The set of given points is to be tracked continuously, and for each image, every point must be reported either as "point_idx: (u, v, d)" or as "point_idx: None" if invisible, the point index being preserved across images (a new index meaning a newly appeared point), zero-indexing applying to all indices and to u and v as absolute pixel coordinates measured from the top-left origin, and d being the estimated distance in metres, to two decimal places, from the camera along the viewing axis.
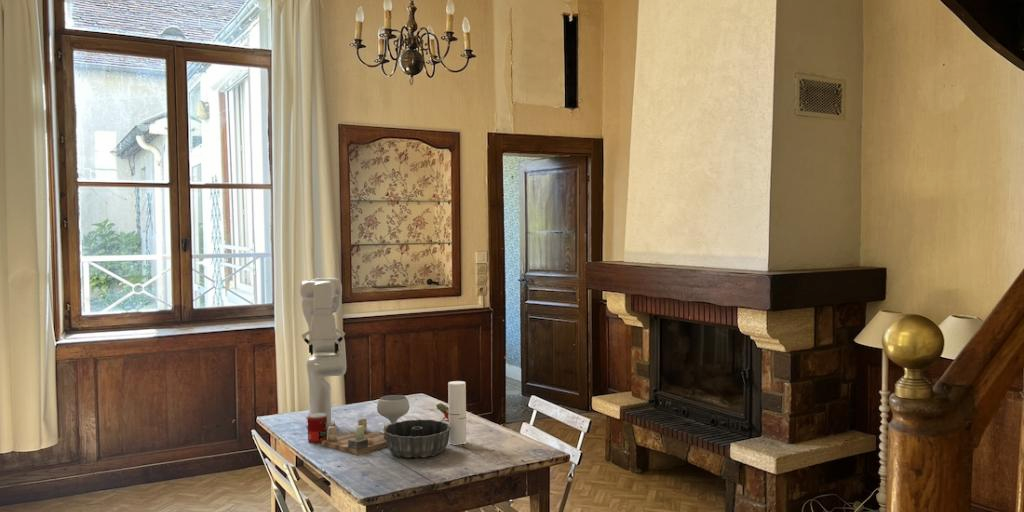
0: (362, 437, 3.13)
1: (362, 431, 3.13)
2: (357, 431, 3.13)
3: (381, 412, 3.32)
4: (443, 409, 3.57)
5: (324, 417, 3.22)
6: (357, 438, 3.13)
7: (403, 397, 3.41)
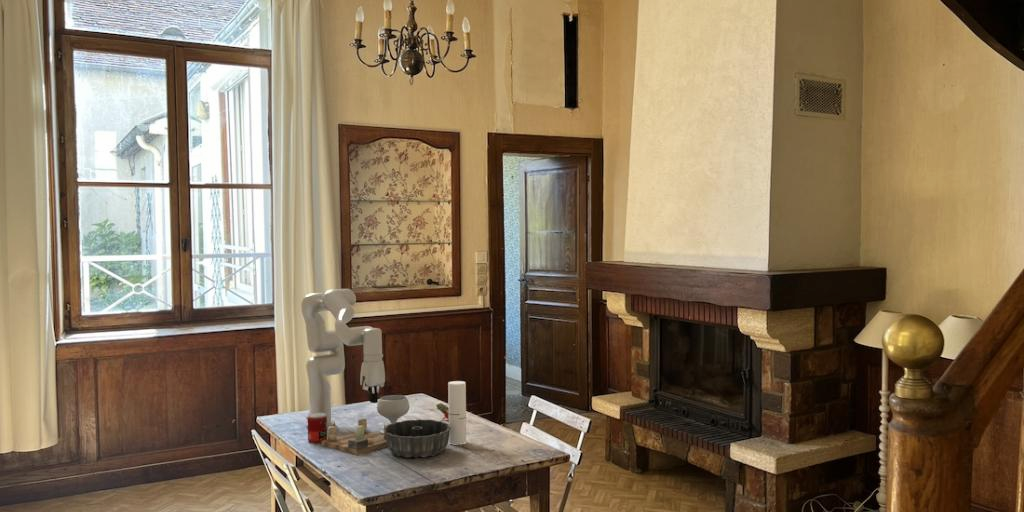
0: (362, 437, 3.13)
1: (362, 431, 3.13)
2: (357, 431, 3.13)
3: (381, 412, 3.32)
4: (443, 409, 3.57)
5: (324, 417, 3.22)
6: (357, 438, 3.13)
7: (403, 397, 3.41)
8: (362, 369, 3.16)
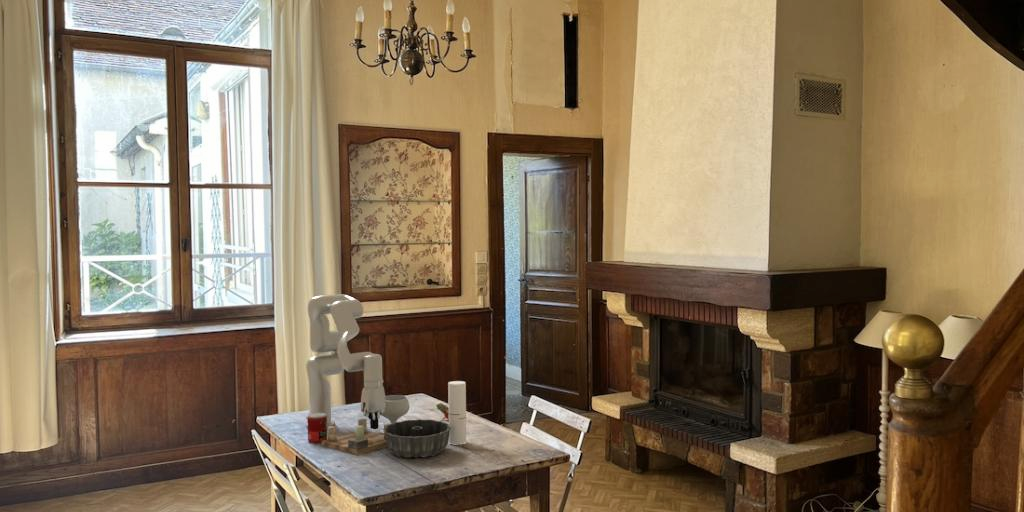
0: (362, 437, 3.13)
1: (362, 431, 3.13)
2: (357, 431, 3.13)
3: None
4: (443, 409, 3.57)
5: (324, 417, 3.22)
6: (357, 438, 3.13)
7: (403, 397, 3.41)
8: (363, 395, 3.17)
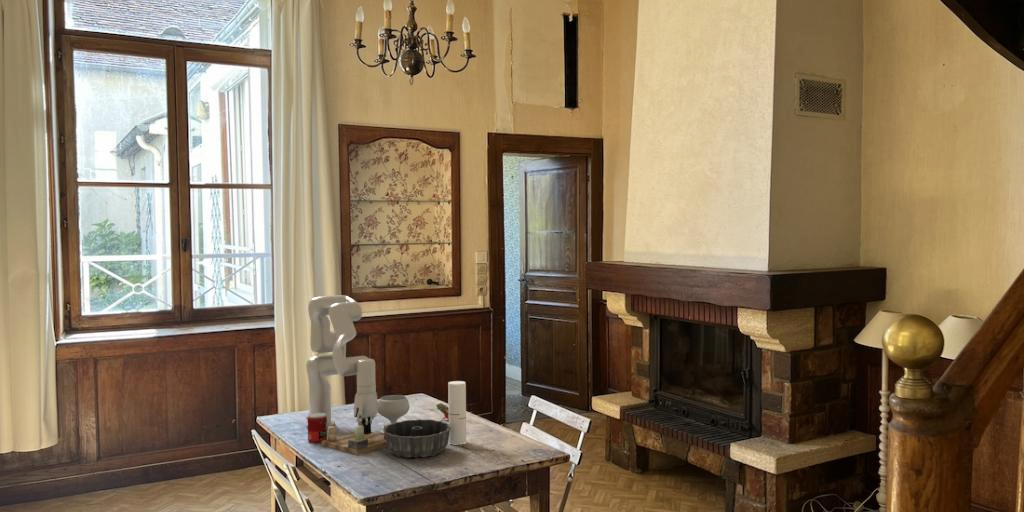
0: (362, 437, 3.13)
1: (362, 431, 3.13)
2: (357, 431, 3.13)
3: (381, 412, 3.32)
4: (443, 409, 3.57)
5: (324, 417, 3.22)
6: (357, 438, 3.13)
7: (403, 397, 3.41)
8: (356, 401, 3.14)
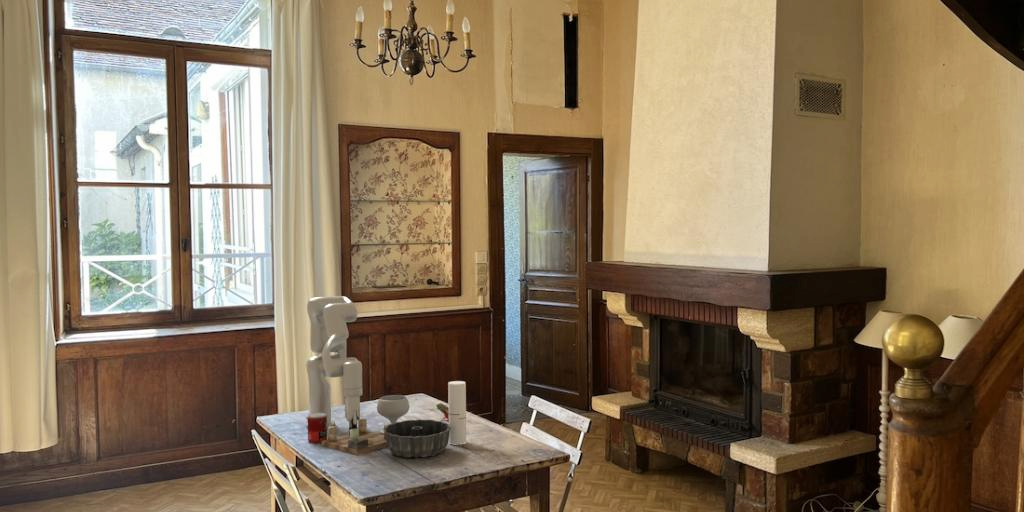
0: (358, 439, 3.10)
1: (358, 433, 3.10)
2: (355, 434, 3.08)
3: (381, 412, 3.32)
4: (443, 409, 3.57)
5: (324, 417, 3.22)
6: None
7: (403, 397, 3.41)
8: (352, 404, 3.08)
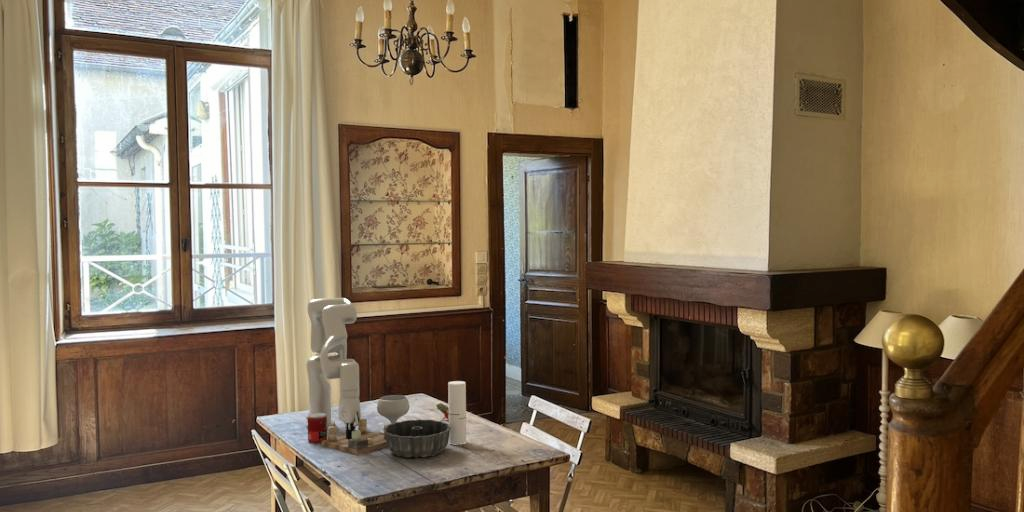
0: None
1: None
2: (359, 435, 3.06)
3: (381, 412, 3.32)
4: (443, 409, 3.57)
5: (324, 417, 3.22)
6: None
7: (403, 397, 3.41)
8: (354, 405, 3.06)
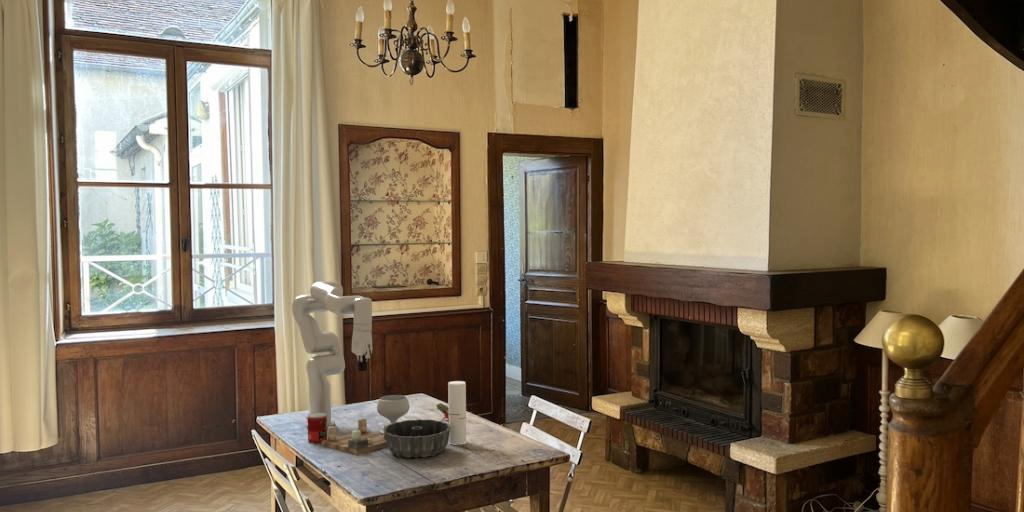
0: None
1: None
2: (359, 435, 3.06)
3: (381, 412, 3.32)
4: (443, 409, 3.57)
5: (324, 417, 3.22)
6: None
7: (403, 397, 3.41)
8: (366, 338, 3.20)
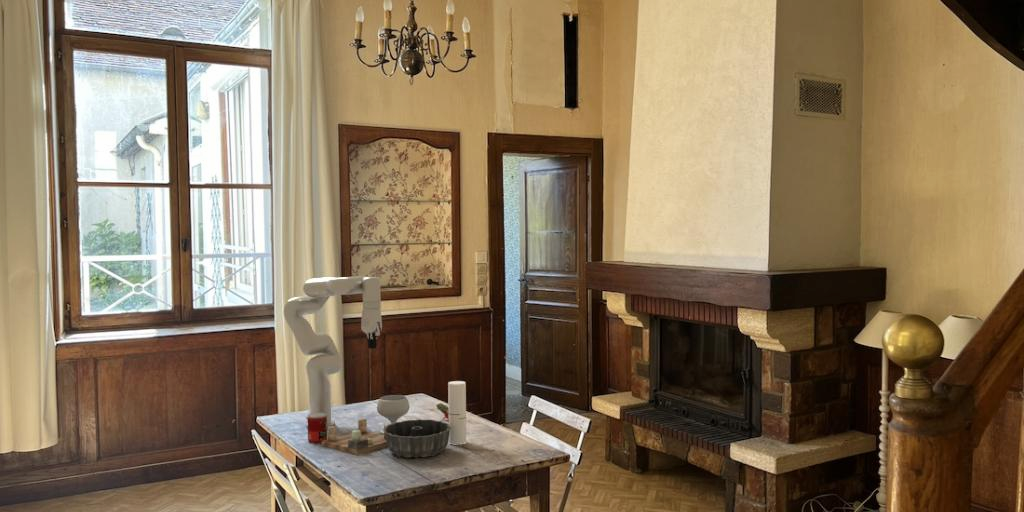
0: None
1: None
2: (359, 435, 3.06)
3: (381, 412, 3.32)
4: (443, 409, 3.57)
5: (324, 417, 3.22)
6: None
7: (403, 397, 3.41)
8: (375, 316, 3.29)
